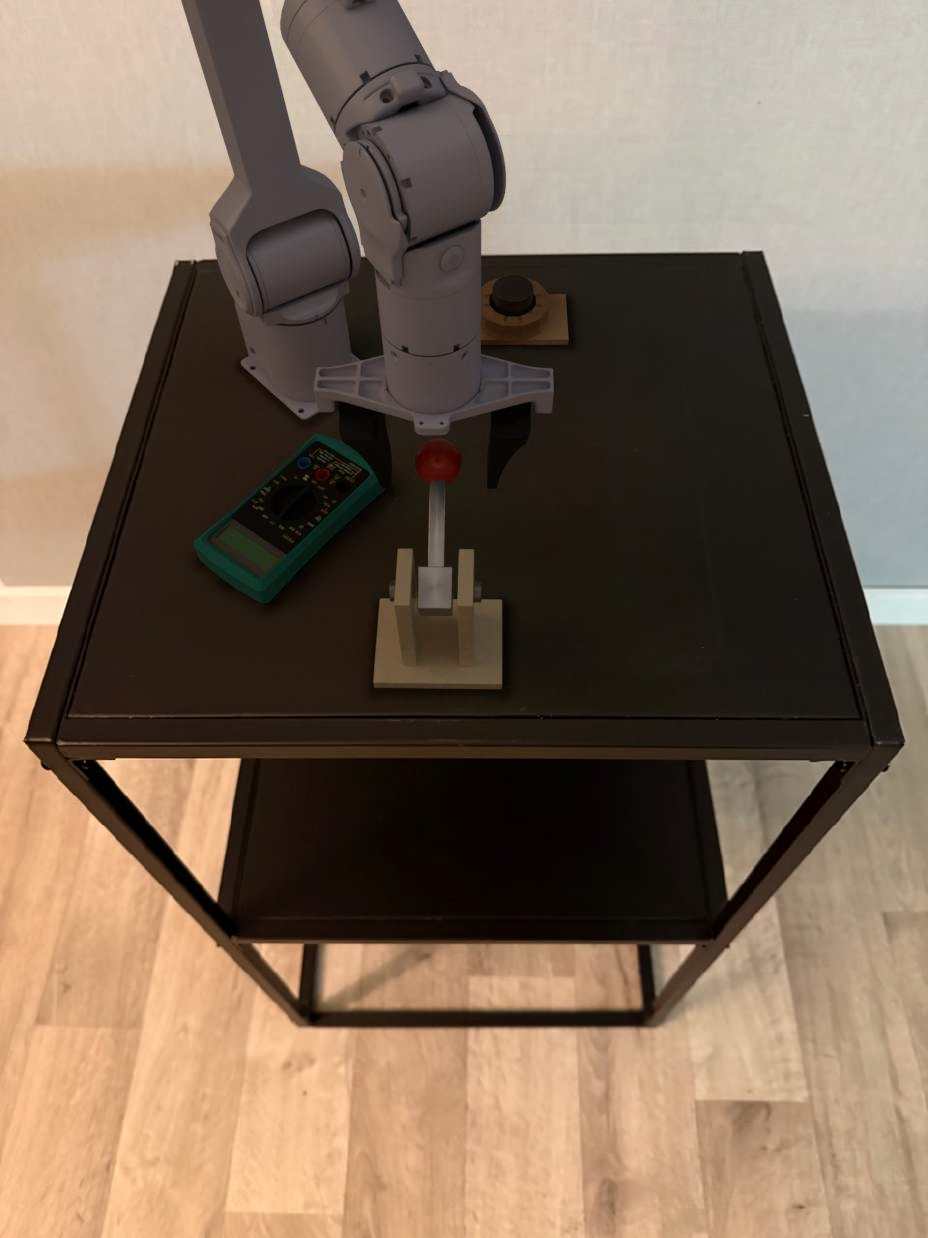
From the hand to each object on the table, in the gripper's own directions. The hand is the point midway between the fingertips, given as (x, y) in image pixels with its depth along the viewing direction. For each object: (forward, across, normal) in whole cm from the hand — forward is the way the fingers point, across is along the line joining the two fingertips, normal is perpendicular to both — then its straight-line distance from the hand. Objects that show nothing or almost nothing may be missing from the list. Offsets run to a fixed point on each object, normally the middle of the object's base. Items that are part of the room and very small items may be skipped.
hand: (439, 477), depth 65 cm
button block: (+9, +5, +26) cm, 28 cm away
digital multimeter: (+9, -12, +2) cm, 15 cm away
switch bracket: (+9, 0, -8) cm, 12 cm away
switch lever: (+1, 0, -4) cm, 4 cm away
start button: (+7, +5, +26) cm, 27 cm away
